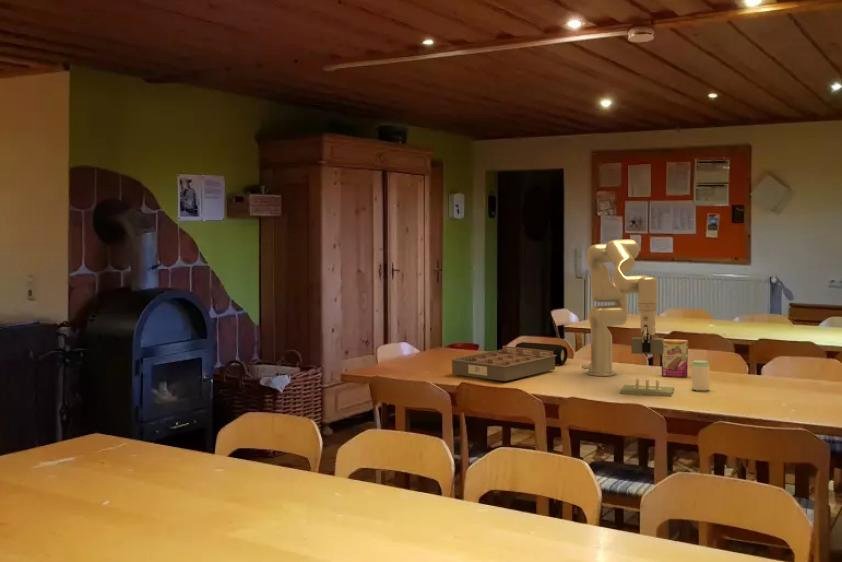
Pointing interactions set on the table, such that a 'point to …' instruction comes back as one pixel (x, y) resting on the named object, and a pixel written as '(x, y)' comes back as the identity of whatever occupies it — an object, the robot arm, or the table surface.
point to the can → (700, 375)
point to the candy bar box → (675, 358)
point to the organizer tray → (505, 363)
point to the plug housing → (655, 346)
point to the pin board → (647, 389)
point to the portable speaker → (556, 349)
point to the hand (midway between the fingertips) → (647, 350)
